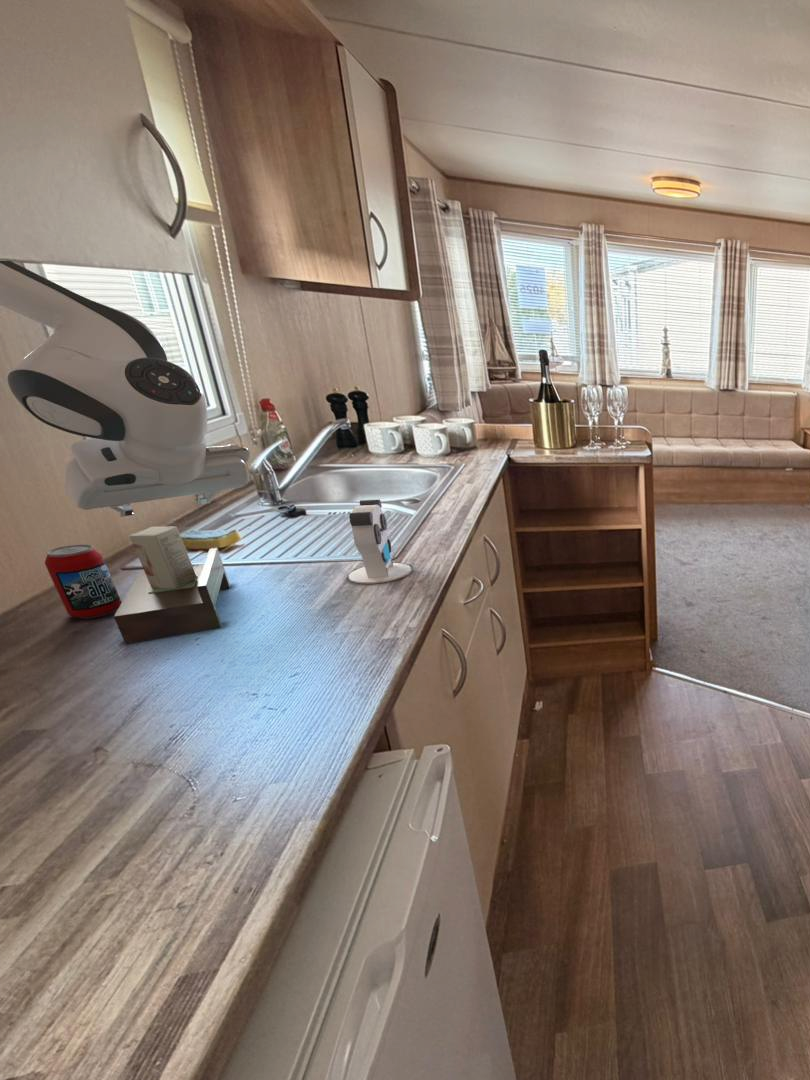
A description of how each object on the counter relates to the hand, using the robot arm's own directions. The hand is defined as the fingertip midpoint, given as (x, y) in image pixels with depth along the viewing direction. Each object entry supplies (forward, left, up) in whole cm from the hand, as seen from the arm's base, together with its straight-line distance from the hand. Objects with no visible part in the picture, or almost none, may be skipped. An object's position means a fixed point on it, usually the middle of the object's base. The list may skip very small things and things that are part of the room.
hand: (164, 506), depth 101 cm
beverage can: (-16, +17, -22) cm, 32 cm away
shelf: (-4, +11, -22) cm, 25 cm away
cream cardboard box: (-4, +11, -17) cm, 21 cm away
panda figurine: (+27, +15, -22) cm, 37 cm away
